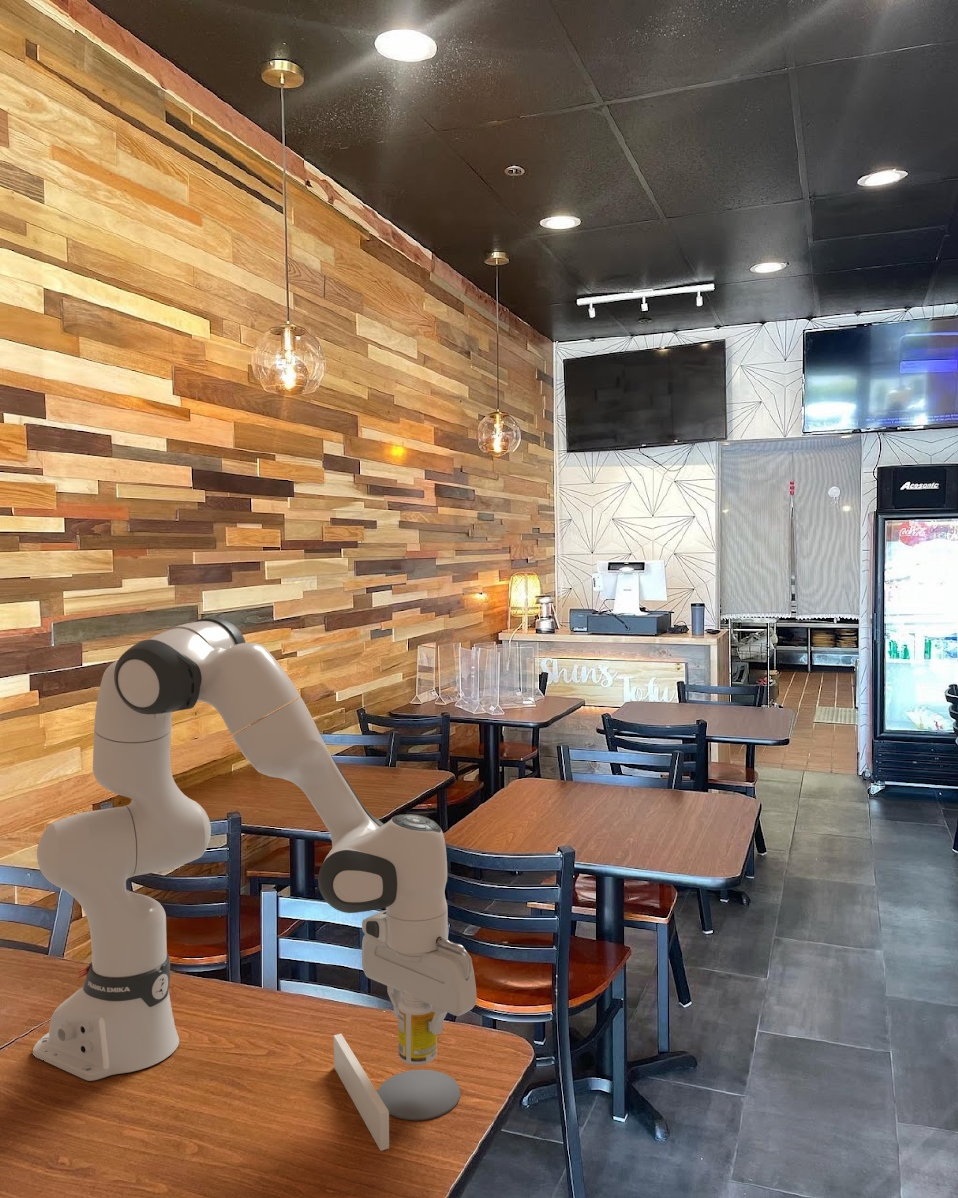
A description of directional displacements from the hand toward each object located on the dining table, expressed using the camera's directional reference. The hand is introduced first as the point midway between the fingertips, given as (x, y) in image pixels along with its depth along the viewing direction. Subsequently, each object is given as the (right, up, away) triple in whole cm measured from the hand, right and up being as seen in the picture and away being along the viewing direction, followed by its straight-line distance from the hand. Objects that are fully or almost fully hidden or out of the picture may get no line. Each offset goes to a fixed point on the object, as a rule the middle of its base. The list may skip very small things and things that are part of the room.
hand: (417, 1024), depth 131 cm
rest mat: (0, -11, +1) cm, 11 cm away
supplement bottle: (0, -5, 0) cm, 5 cm away
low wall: (-8, -11, -2) cm, 14 cm away
